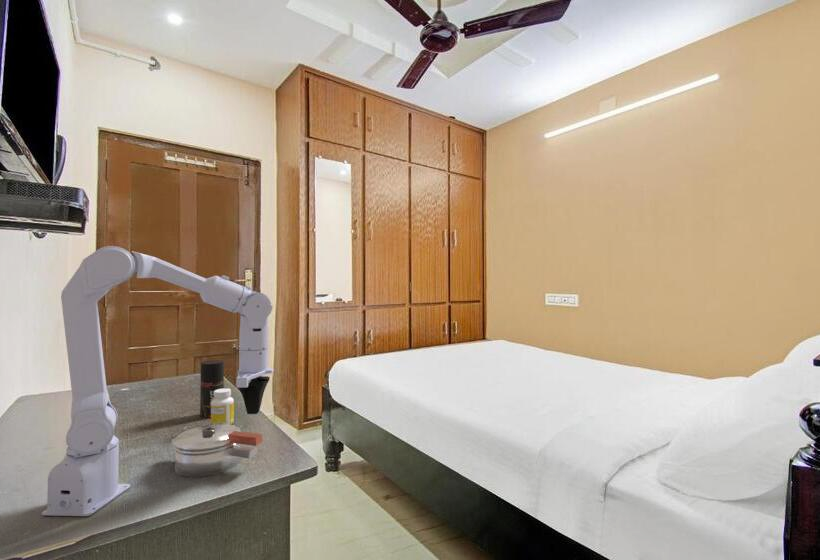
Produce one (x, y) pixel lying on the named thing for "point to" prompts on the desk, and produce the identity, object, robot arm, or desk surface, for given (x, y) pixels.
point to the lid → (214, 437)
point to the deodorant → (210, 384)
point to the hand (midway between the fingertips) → (253, 413)
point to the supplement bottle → (222, 407)
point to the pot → (210, 459)
